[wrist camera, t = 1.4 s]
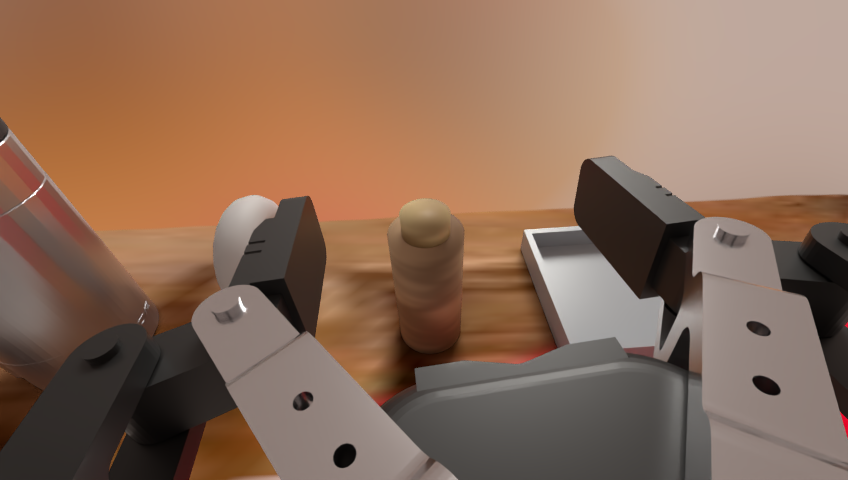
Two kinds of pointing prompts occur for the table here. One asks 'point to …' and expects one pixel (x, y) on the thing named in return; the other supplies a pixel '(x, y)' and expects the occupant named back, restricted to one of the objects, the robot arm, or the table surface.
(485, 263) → the table surface
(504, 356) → the table surface
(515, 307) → the table surface
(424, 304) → the pepper mill
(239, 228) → the donut
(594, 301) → the tray
